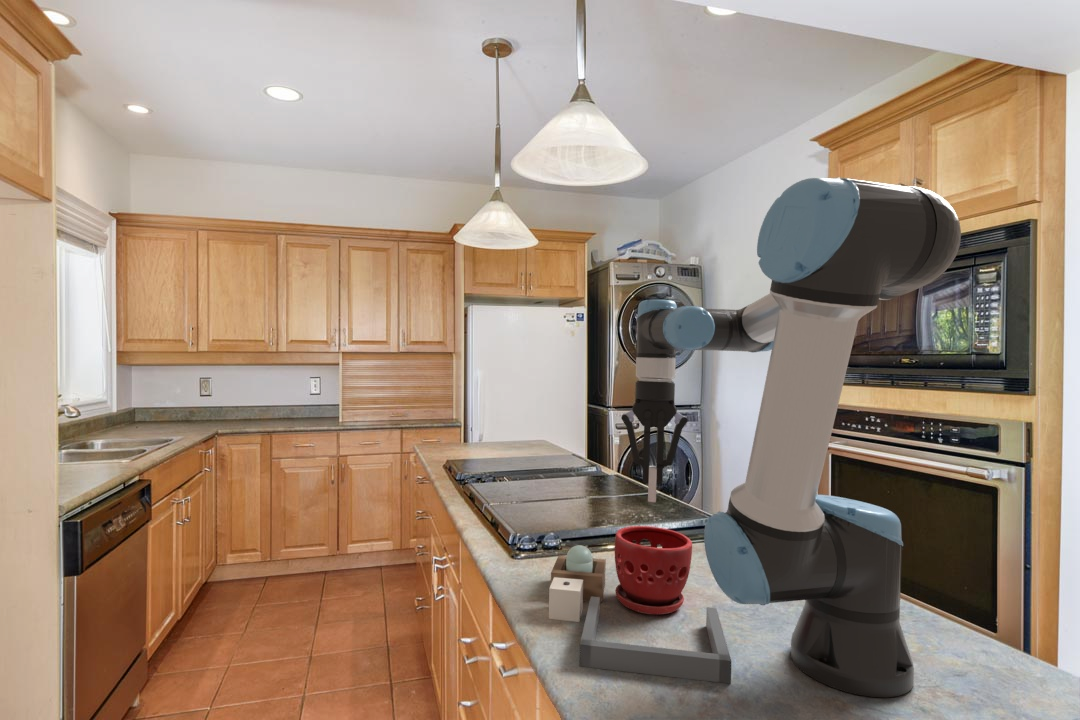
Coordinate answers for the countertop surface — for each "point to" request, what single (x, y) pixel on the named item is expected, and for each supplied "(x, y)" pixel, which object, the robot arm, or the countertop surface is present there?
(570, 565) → the dome button
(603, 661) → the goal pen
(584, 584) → the button box
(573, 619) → the cream cube with hole
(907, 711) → the countertop surface
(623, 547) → the plant pot
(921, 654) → the countertop surface
